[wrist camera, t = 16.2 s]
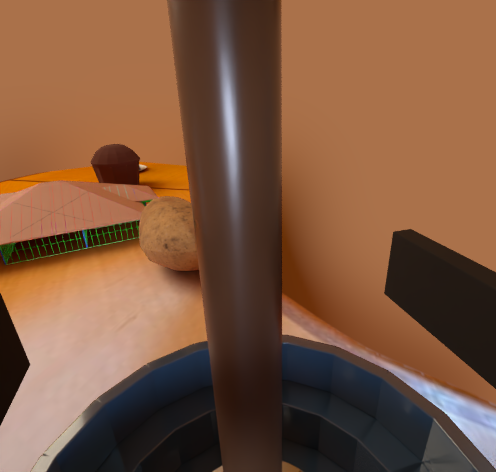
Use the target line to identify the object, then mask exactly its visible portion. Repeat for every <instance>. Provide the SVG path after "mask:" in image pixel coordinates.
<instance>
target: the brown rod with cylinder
mask: <svg viewBox="0 0 496 472" xmlns="http://www.w3.org/2000/svg"><path fill="white" fill-rule="evenodd" d="M167 3H168V12H169V20H170V28H171V37H172V45H173V54H174V62H175V70H176V79H177V88H178V96H179V104H180V113H181V121H182V130H183V137H184V145H185V155H186V163H187V172H188V180H189V189H190V197H191V205H192V214H193V222H194V231H195V239H196V247H197V256H198V264H199V273H200V281H201V290H202V298H203V306H204V315H205V323H206V332H207V340H208V348H209V357H210V365H211V374H212V382H213V391H214V399H215V407H216V416H217V424H218V433H219V441H220V450H221V458H222V466H220V467H218V468H217V469H215V470H214V471H212V472H303V471H302V470H300V469H299V468H297V467H295V466H294V465H292V464H290V463H288V462H285V461H282V202H281V201H282V185H281V183H282V177H281V176H282V175H281V174H282V173H281V172H282V170H281V169H282V165H281V163H282V162H281V161H282V160H281V158H282V154H281V152H282V148H281V146H282V143H281V140H282V137H281V0H167Z"/></svg>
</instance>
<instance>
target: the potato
mask: <svg viewBox="0 0 496 472" xmlns="http://www.w3.org/2000/svg"><path fill="white" fill-rule="evenodd" d="M139 240H140V247H141V248H142V250H143V251H144V253H145V254H146V256H147V257H148V259H149V260H150V261H152V262H155V263H157V264H160V265H162V266H165V267H167V268H170V269H172V270H177V271H193V270H199V264H198V256H197V247H196V239H195V231H194V222H193V214H192V205H191V203H190V202H188V201H186V200H184V199H181V198H178V197H169V196H165V197H159V198H156V199H153V200H152V201H150V202H149V203H148V204H147V205H146V206H145V208H144V209H143V211H142V213H141V218H140V223H139Z"/></svg>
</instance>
